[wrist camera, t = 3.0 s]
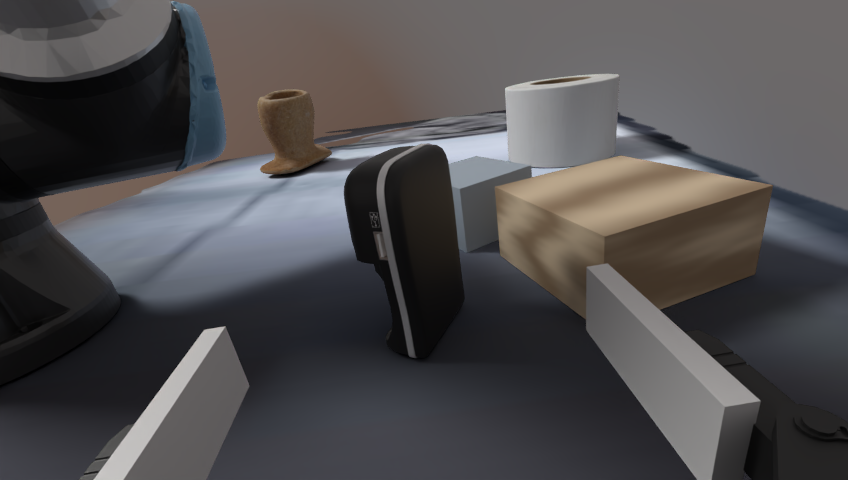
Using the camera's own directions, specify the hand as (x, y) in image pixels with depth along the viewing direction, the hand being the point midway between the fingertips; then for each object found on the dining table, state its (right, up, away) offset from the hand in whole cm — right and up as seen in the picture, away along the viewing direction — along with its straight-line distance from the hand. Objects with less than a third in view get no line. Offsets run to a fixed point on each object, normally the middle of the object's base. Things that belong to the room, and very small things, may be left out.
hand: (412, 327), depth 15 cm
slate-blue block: (+6, +4, +26) cm, 27 cm away
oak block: (+14, +1, +15) cm, 21 cm away
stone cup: (-24, +18, +68) cm, 74 cm away
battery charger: (0, -3, +12) cm, 12 cm away
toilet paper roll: (+21, +16, +47) cm, 54 cm away
